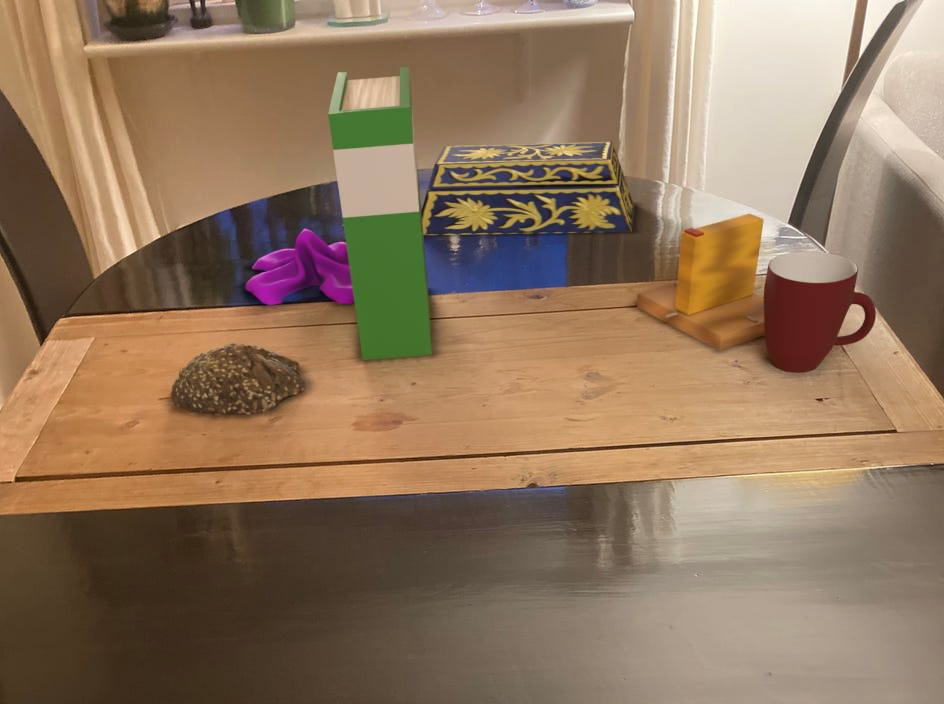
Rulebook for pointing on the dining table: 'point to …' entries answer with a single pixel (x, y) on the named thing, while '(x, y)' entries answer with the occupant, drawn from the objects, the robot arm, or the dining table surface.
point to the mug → (810, 308)
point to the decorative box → (527, 190)
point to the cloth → (304, 271)
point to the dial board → (708, 317)
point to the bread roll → (236, 381)
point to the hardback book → (382, 213)
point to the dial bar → (718, 263)
